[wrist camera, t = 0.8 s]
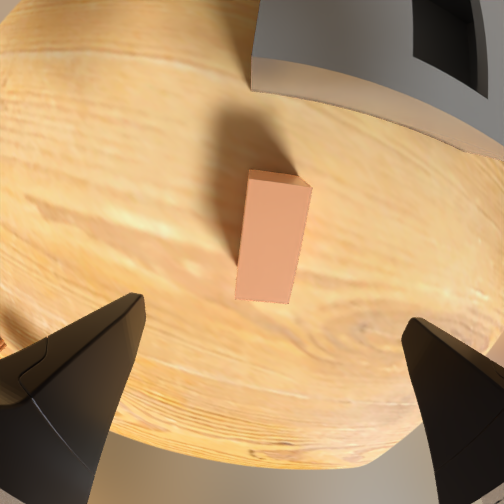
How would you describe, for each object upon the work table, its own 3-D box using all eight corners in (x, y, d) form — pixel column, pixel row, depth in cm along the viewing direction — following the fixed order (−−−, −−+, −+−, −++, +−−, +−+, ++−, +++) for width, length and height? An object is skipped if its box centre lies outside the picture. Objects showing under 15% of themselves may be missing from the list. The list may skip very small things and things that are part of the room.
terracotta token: (298, 175, 16) (312, 187, 13) (281, 270, 19) (288, 304, 15) (249, 168, 16) (249, 178, 13) (237, 266, 19) (234, 299, 15)
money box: (467, 23, 10) (527, 8, 3) (463, 151, 15) (537, 171, 8) (273, -51, 9) (283, -115, 2) (250, 91, 14) (251, 56, 7)
